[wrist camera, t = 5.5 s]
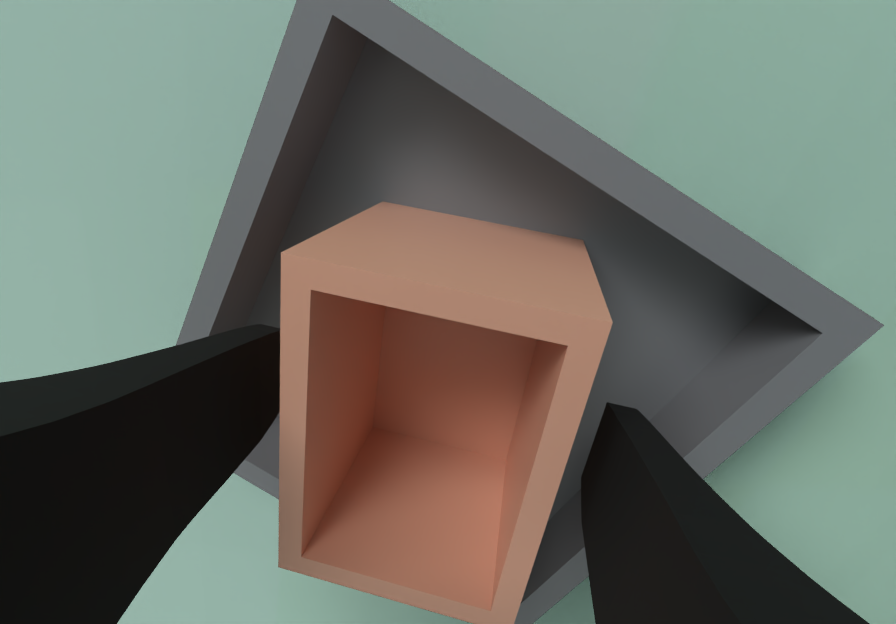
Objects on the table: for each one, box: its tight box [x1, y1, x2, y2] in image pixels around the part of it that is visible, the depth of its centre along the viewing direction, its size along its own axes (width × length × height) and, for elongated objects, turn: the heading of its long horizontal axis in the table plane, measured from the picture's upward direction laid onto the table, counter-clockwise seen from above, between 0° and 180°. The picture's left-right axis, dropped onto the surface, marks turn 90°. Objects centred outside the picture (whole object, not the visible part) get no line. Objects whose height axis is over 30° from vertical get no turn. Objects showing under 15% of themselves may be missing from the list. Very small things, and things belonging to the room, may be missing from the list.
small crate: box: [278, 202, 613, 624], centre depth 10 cm, size 5×7×5 cm
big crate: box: [176, 0, 884, 624], centre depth 12 cm, size 12×12×3 cm
